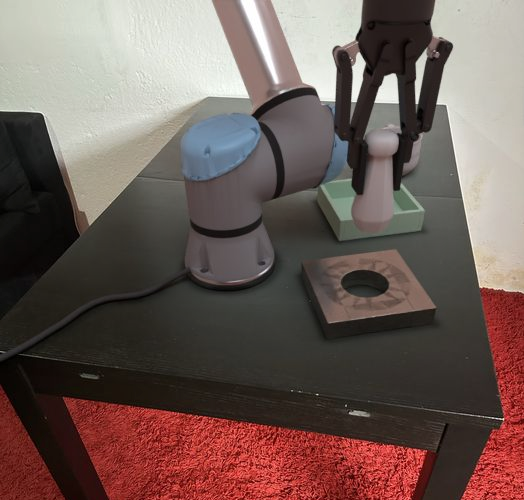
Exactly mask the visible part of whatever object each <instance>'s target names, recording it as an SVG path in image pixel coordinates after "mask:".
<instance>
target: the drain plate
mask: <svg viewBox="0 0 524 500" xmlns="http://www.w3.org/2000/svg"><path fill="white" fill-rule="evenodd" d="M300 266H301V268H300V278H301V280H302V283H303V284H304V287H305V290H306V292H307V294H308V297H309V300H310V301H311V304H312V306H313V309H314V311H315V313H316V316H317V319H318V321H319V323H320V325H321V328H322V331H323V333H324V335H325V338H326V340H331V339H337V338H343V337H345V338H346V337H350V336H357V335H363V334H364V335H365V334H370V333H371V334H372V333H377V332H385V331H391V330H397V329H404V328H410V327H413V328H414V327H418V326H419V327H420V326H426V325H433V323H434V319H435V315H436V311H437V306H436V305H435V304H434V302H433V301H432V298H430V296H429V294H428V293H427V292H426V290H425V289H424V287H423V286H422V285H421V283H420V282H419V280H418V279H417V277H416V276H415V274H414V273H413V271H412V270H411V269H410V267H409V266H408V264H407V263H406V261H405V260H404V258H403V257H402V256H401V253H399V251H398V250H397V249H396V248H393V249H386V250H378V251H371V252H363V253H355V254H348V255H340V256H331V257H323V258H316V259H308V260H301V265H300ZM353 286H368V287H372V288H374V289H377V290H379V291H380V292H382V294H379V295H377V296H370V297H364V296H357V295H354V294H353V293H349V292H348V291H347V290H345V289H347V288H350V287H353Z"/></svg>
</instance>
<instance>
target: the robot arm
mask: <svg viewBox="0 0 524 500" xmlns="http://www.w3.org/2000/svg"><path fill="white" fill-rule="evenodd" d="M211 3H212V6H213V8H214V11H215V12H216V16H217V18H218V20H219V23H220V26H221V28H222V31H223V33H224V36H225V38H226V41H227V44H228V46H229V49H230V52H231V54H232V57H233V59H234V62H235V64H236V67H237V70H238V72H239V75H240V77H241V80H242V83H243V85H244V88H245V90H246V92H247V95H248V98H249V100H250V103H251V105H252V109H251V111H250V113H249V114H248V113H243V112H232V113H231V114H227V113H222V114H216V115H213V116H209V117H207V118H205V119H203V120H199V121H198V122H196V123H195V124H193V125H192V126H190V127H189V128H188V129H187V130H186V132H185V133H184V135H183V136H182V138H181V140H180V156H181V157H180V158H181V163H180V169H181V174H182V175H183V183H184V189H185V196H186V202H187V203H186V204H187V209H188V217H189V223H190V230H189V235H188V239H187V243H186V247H185V253H184V267H185V268H183V269H180V270H179V271H178V272H176V273H173V274H171V275H169V276H168V277H166V278H164V279H162V280H160V281H159V282H158V283H156V284H153V285H152V286H149V287H148V288H145V289H142V290H138V291H133V292H127V293H126V292H125V293H115V294H108V295H104V296H100V297H97V298H94V299H92V300H90V301H88V302H86V303H84V304H83V305H80V306H79V307H78V308H76V309H74V311H72V312H70V313H69V314H68V315H67V316H65V317H63V318H62V319H60V320H59V321H58V322H56V323H54V324H53V325H50V326H49V327H47V328H45V329H44V330H42V331H41V332H39V333H38V334H37V335H34V336H32V337H31V338H29V339H28V340H26V341H24V342H23V343H21V344H18V345H17V346H15V347H13V348H11V349H9V350H7V351H5V352H2V353H1V354H0V363H2V362H4V361H6V360H8V359H10V358H12V357H14V356H16V355H18V354H20V353H22V352H24V351H26V350H27V349H29V348H30V347H31V348H32V347H33V346H34V345H36V344H38V343H39V342H41V341H43V340H44V339H46V338H47V337H49V336H51V335H52V334H53V333H55V332H57V331H59V330H60V329H62V328H64V327H65V326H66V325H68V324H69V323H71V322H72V321H73V320H75V319H76V318H78V317H79V316H81V315H82V314H84V313H85V312H86V311H88V310H89V309H92V308H94V307H96V306H98V305H101V304H104V303H108V302H114V301H122V300H123V301H124V300H132V299H139V298H142V297H146V296H148V295H151V294H153V293H155V292H157V291H159V290H161V289H162V288H164V287H165V286H168V285H169V284H171V283H173V282H174V281H176V280H179V279H180V278H182V277H184V276H188V278H189V279H190V280H191V281H192V282H193V283H195V284H197V285H198V286H201V287H203V288H206V289H210V290H214V291H236V290H238V291H239V290H244V289H247V288H250V287H254V286H255V285H258V284H260V283H261V282H264V281H265V280H266V279H268V277H270V276H271V274H272V273H273V271H274V270H275V266H276V259H275V258H276V256H275V255H276V253H275V249H274V246H273V244H272V241H271V239H270V237H269V234H268V231H267V229H266V227H265V224H264V219H263V204H265V203H267V202H269V201H273V200H276V199H280V198H284V197H287V196H290V195H294V194H297V193H300V192H304V191H308V190H311V189H312V190H313V189H315V190H316V189H318V187H319V186H320V185H323V184H326V183H328V182H331V181H335V180H336V179H338V177H339V176H340V175H341V174H342V172H343V171H344V169H345V167H346V165H348V167H349V168H350V170H352V172H351V173H352V174H351V179H352V183H351V187H352V188H353V190H354V191H355V192H356V194H357V195H363V189H364V180H365V171H366V162H367V153H368V144H367V143H366V142H365V141H364V138H365V135H366V132H367V128H368V125H369V122H370V118H371V115H372V111H373V108H374V105H375V103H376V99H377V96H378V93H379V89H380V87H381V86H382V85H383V84H384V83H383V82H384V79H385V77H387V76H390V75H393V74H394V75H395V77H396V81H397V82H396V83H397V99H398V113H399V126H400V130H401V131H402V132H401V134H400V133H396V134H397V135H398V139H399V145H398V150H397V152H396V153H394V154H393V155H392V164H393V190H394V191H400V186H401V183H402V179H403V176H402V173H403V167H404V163H409V162H410V160H411V156H412V150H413V144H414V142H415V141H417V140H418V138H419V135H418V134H420V133H422V134H423V133H425V134H427V133H430V131H431V130H432V128H433V123H434V118H435V115H436V114H435V113H436V109H437V105H438V104H437V103H438V99H439V94H440V89H441V84H442V79H443V74H444V69H445V65H446V64H447V61H448V60H449V57H450V55H451V54H452V52H453V49H454V43H452V42H451V41H450V40H447V39H446V38H444V37H442V36H439V37H437V36H435V35H434V32H433V29H432V19H433V16H434V13H435V7H436V0H362V2H361V4H362V5H361V13H360V14H361V16H360V17H361V18H360V26H359V28H358V31H357V33H356V35H355V39H354V40H353V41H350V42H349V43H347V44H345V45H343V46H341V45H335V46H333V48H332V51H331V54H332V58H333V61H334V65H335V68H336V71H335V73H336V75H335V98H334V105H333V104H330V103H328V104H325V103H324V104H325V105H322V104H323V103H322V101H321V98H320V96H319V94H318V91H317V89H316V87H315V86H313V85H310V84H307V83H305V82H303V80H302V78H301V74H300V72H299V69H298V67H297V64H296V62H295V59H294V56H293V53H292V51H291V48H290V47H289V44H288V41H287V38H286V36H285V32H284V30H283V27H282V25H281V23H280V20H279V17H278V15H277V12H276V10H275V7H274V4H273V1H272V0H211ZM425 51H426V52H425ZM424 52H425V53H426V60H425V64H424V68H423V74H422V79H421V85H420V91H419V96H418V101H417V100H416V80H417V62H418V60H419V59H420V58H421V57H422V55H423V54H424ZM358 53H359V54H360V56H361V58H362V59H363V61H364V63H365V65H364V69H363V72H362V81H361V85H360V89H359V91H358V95H357V99H356V102H355V104H354V105H355V106H354V108H353V113H351V112H352V97H353V84H354V83H353V81H354V71H353V67H354V66H355V64H356V63H357V56H358ZM416 101H417V102H416ZM351 114H352V116H351Z"/></svg>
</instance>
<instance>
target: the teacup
mask: <svg viewBox="0 0 524 500" xmlns="http://www.w3.org/2000/svg"><path fill="white" fill-rule="evenodd" d="M379 129H388V130H392V131H394V132H395V133H400V134H401V132H402V131H401V130H400V125H399V126H397V125H394V124H393V123H388V124H386V125H385V127H381V128H379ZM418 135H419V138H418V140H417V141H415V142H414V144H413V150H412V156H411V160H410V162H409V163H404V167H403V173H402V177H403V176H405V175H407V174H408V173H409V172H411V171H412V170H414V169H415V168H416V166H417V164H418V162H419V158H420V155H421V148H422V141H423V137H424V136H423V132H422V133H420V134H418Z"/></svg>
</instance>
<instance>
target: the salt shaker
mask: <svg viewBox="0 0 524 500" xmlns="http://www.w3.org/2000/svg"><path fill="white" fill-rule="evenodd" d="M363 139H364V141H365V142H366V143H367V144H368V153H367V162H366V171H365V180H364V189H363V195H357V194H355V197H354V201H353V204H352V207H351V215H352V218H353V221H354V223H355V226H356V228H358V229H359V230H361V231H362V232H364V233H379V232H381V231H382V230H384V229H386V227H387V225H388V224H389V222H390V220H391V219H392V217H393V214H394V201H393V164H392V155H393V154H394V153H396V152H397V150H398V145H399V139H398V135H397V134H396V133H395V132H394V131H392V130H388V129H380V128H375V129H372V130H370V131H368V132H367V133H365V135H364V138H363Z"/></svg>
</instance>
